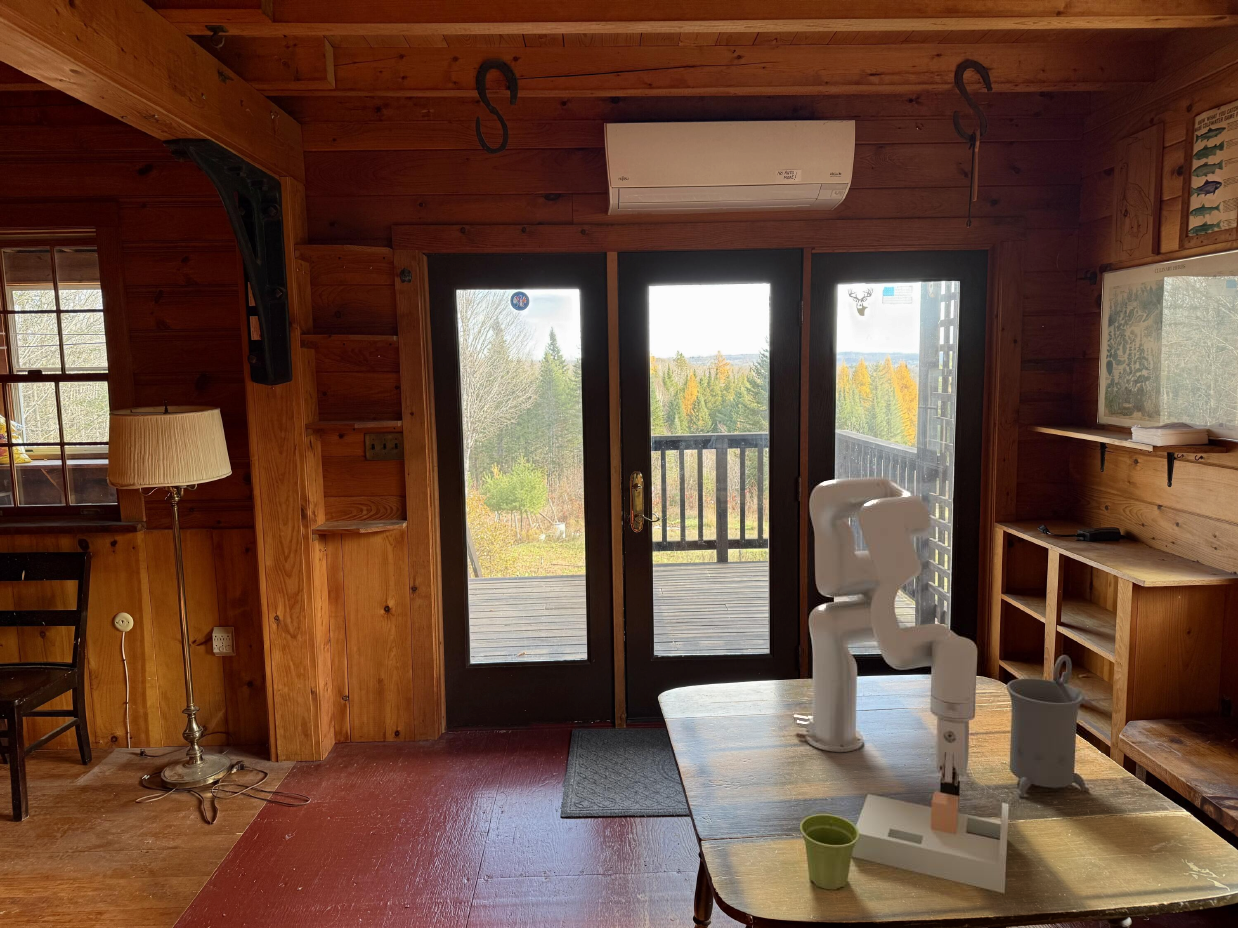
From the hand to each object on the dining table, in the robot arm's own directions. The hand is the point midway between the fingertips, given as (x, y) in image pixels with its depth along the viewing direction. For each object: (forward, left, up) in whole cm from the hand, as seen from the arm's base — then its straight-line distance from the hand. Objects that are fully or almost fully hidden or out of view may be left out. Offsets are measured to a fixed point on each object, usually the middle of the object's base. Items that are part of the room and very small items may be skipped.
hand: (949, 801), depth 152 cm
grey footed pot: (+16, +24, -4) cm, 29 cm away
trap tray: (-2, -10, -4) cm, 11 cm away
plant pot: (-16, -26, -4) cm, 31 cm away
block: (0, -7, -1) cm, 7 cm away
